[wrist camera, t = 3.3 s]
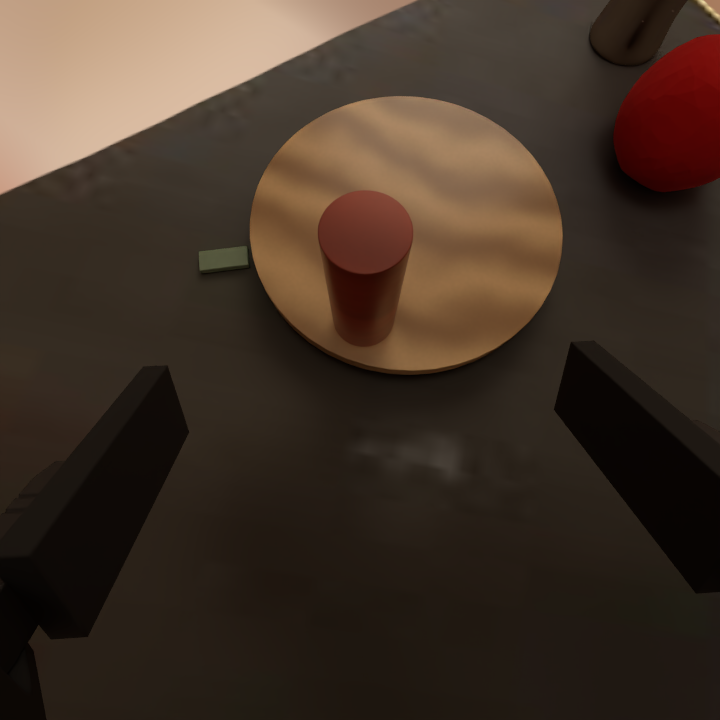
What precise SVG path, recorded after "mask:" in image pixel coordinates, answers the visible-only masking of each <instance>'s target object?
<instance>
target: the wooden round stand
mask: <svg viewBox="0 0 720 720" xmlns="http://www.w3.org/2000/svg"><path fill="white" fill-rule="evenodd" d="M562 238H563V234H562V223H561V216H560V211H559V207H558V203H557V199H556V197H555V194H554V192H553V189H552V187H551V184H550V182H549V180H548V179H547V177H546V175H545V173H544V172H543V170H542V168H541V167H540V165H539V164H538V163H537V161H536V160H535V159H534V157H533V156H532V155H531V153H530V152H529V151H528V150H527V149H526V148H525V147H524V146H523V145H522V144H521V143H520V142H519V141H518V140H517V139H516V138H515V137H513V136H512V135H511V134H510V133H508V132H507V131H506V130H505V129H503V128H502V127H500V126H499V125H497V124H496V123H494V122H493V121H491V120H490V119H488V118H486V117H484V116H482V115H480V114H478V113H476V112H474V111H472V110H469V109H466V108H464V107H461V106H458V105H456V104H452V103H448V102H444V101H440V100H436V99H429V98H422V97H409V96H394V97H380V98H374V99H368V100H363V101H359V102H356V103H352V104H348V105H345V106H343V107H340V108H338V109H335V110H333V111H330V112H328V113H326V114H324V115H323V116H321V117H319V118H317V119H315V120H313V121H312V122H311V123H309V124H308V125H306V126H305V127H303V128H302V129H301V130H299V131H298V132H297V133H296V134H295V135H294V136H292V137H291V138H290V139H289V140H288V141H287V142H286V143H285V144H284V145H283V146H282V148H281V149H280V150H279V151H278V152H277V153H276V155H275V156H274V157H273V159H272V160H271V162H270V164H269V165H268V167H267V168H266V170H265V172H264V174H263V176H262V178H261V180H260V182H259V184H258V187H257V190H256V193H255V197H254V200H253V203H252V210H251V217H250V243H251V249H252V256H253V260H254V263H255V266H256V269H257V273H258V276H259V278H260V280H261V282H262V284H263V286H264V288H265V290H266V292H267V294H268V296H269V298H270V300H271V301H272V303H273V304H274V306H275V307H276V309H277V310H278V311H279V313H280V314H281V316H282V317H283V318H284V319H285V320H286V321H287V322H288V324H289V325H290V326H291V327H292V328H293V329H294V330H295V331H296V332H297V333H298V334H300V335H301V336H302V337H303V338H304V339H306V340H307V341H308V342H309V343H310V344H312V345H314V346H315V347H317V348H318V349H320V350H321V351H323V352H325V353H326V354H328V355H330V356H332V357H334V358H336V359H339V360H341V361H343V362H345V363H347V364H350V365H354V366H357V367H360V368H363V369H366V370H371V371H376V372H382V373H387V374H402V375H416V374H430V373H436V372H441V371H446V370H451V369H455V368H457V367H460V366H463V365H466V364H469V363H472V362H474V361H476V360H478V359H480V358H482V357H484V356H486V355H488V354H490V353H492V352H493V351H495V350H496V349H497V348H499V347H500V346H502V345H503V344H505V343H506V342H508V341H509V340H510V339H511V338H512V337H513V336H515V335H516V334H517V333H518V332H519V331H520V330H521V329H522V328H523V327H524V326H525V325H526V324H527V323H528V322H529V321H530V320H531V319H532V318H533V316H534V315H535V314H536V312H537V311H538V310H539V309H540V307H541V306H542V304H543V303H544V301H545V299H546V297H547V296H548V294H549V292H550V290H551V288H552V285H553V283H554V280H555V278H556V275H557V272H558V268H559V263H560V259H561V254H562Z"/></svg>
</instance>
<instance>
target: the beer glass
mask: <svg viewBox="0 0 720 720" xmlns="http://www.w3.org/2000/svg"><path fill="white" fill-rule="evenodd" d="M687 1H688V0H610V1H609V2H608V4H607V5H606V6H605V8H604V9H603V11H602V12H601V13H600V15H599V16H598V17H597V19H596V20H595V22H594V24H593V25H592V28H591V31H590V41H591V44H592V46H593V48H594V49H595V51H596V52H597V53H598V54H599V55H600V56H602V57H603V58H604V59H606V60H608V61H610V62H612V63H615V64H619V65H626V66H632V65H639V64H642V63H645V62H647V61H648V60H650V59H651V58H652V57H653V56H654V55H655V54H656V53H657V51H658V50H659V48H660V46H661V44H662V42H663V40H664V38H665V36H666V34H667V32H668V30H669V28H670V27H671V25H672V23H673V21H674V19H675V18H676V16H677V15H678V13H679V12H680V10H681V9H682V7H683V6H684V5H685V3H686V2H687Z"/></svg>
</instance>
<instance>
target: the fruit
mask: <svg viewBox="0 0 720 720" xmlns="http://www.w3.org/2000/svg"><path fill="white" fill-rule="evenodd" d="M613 141H614V147H615V151H616V156H617V160H618V163H619V165H620V168H621V169H622V170H623V171H624V172H625V173H626V174H627V175H628V176H629V177H631V178H632V179H634V180H635V181H637V182H638V183H640V184H641V185H643V186H645V187H647V188H649V189H652V190H654V191H659V192H670V191H678V190H684V189H689V188H694V187H698V186H701V185H704V184H706V183H709V182H712V181H714V180H716V179H718V178H720V34H718V35H706V36H701V37H697V38H695V39H693V40H691V41H689V42H687V43H685V44H683V45H681V46H678V47H676V48H675V49H673V50H672V51H670V52H669V53H667V54H666V55H665V56H663V57H662V58H661V59H660V60H658V61H657V62H656V63H655V64H654V65H652V66H651V67H650V68H649V69H648V70H647V71H646V72H645V73H644V74H643V75H642V76H641V77H640V78H639V80H638V81H637V82H636V83H635V85H634V86H633V87H632V89H631V90H630V92H629V93H628V95H627V96H626V98H625V99H624V101H623V103H622V105H621V107H620V110H619V112H618V115H617V118H616V122H615V128H614V134H613Z"/></svg>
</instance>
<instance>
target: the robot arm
mask: <svg viewBox="0 0 720 720" xmlns="http://www.w3.org/2000/svg"><path fill="white" fill-rule="evenodd" d="M554 410H555V412H556V413H557V414H558V416H559V417H560V418H561V419H562V421H563V422H564V423H565V425H566V426H567V427H568V428H569V430H570V431H571V432H572V434H573V435H574V436H575V438H576V439H577V440H578V441H579V443H580V444H581V445H582V447H583V448H584V449H585V450H586V452H587V453H588V454H589V456H590V457H591V458H592V460H593V461H594V462H595V463H596V465H597V466H598V467H599V469H600V470H601V471H602V472H603V474H604V475H605V476H606V478H607V479H608V480H609V482H610V483H611V484H612V485H613V487H614V488H615V489H616V491H617V492H618V493H619V494H620V496H621V497H622V498H623V500H624V501H625V502H626V504H627V505H628V506H629V507H630V509H631V510H632V511H633V513H634V514H635V515H636V516H637V518H638V519H639V520H640V522H641V523H642V524H643V525H644V527H645V528H646V529H647V531H648V532H649V533H650V535H651V536H652V537H653V538H654V540H655V541H656V542H657V544H658V545H659V546H660V547H661V549H662V550H663V551H664V553H665V554H666V555H667V557H668V558H669V559H670V560H671V562H672V563H673V564H674V566H675V567H676V568H677V569H678V571H679V572H680V573H681V575H682V576H683V577H684V579H685V580H686V581H687V582H688V584H689V585H690V586H691V588H692V589H693V590H694V591H695V593H708V592H720V432H719V431H717V430H715V429H713V428H711V427H710V426H708V425H706V424H704V423H702V422H700V421H698V420H693V421H691V420H690V419H689V418H687V417H686V416H685V415H684V414H683V413H681V412H680V411H679V410H678V409H676V408H675V407H674V406H673V405H672V404H670V403H669V402H668V401H667V400H666V399H664V398H663V397H662V396H661V395H659V394H658V393H657V392H656V391H655V390H653V389H652V388H651V387H650V386H648V385H647V384H646V383H645V382H644V381H642V380H641V379H640V378H639V377H638V376H636V375H635V374H634V373H633V372H631V371H630V370H629V369H628V368H627V367H625V366H624V365H623V364H622V363H620V362H619V361H618V360H617V359H616V358H614V357H613V356H612V355H611V354H610V353H608V352H607V351H606V350H605V349H603V348H602V347H601V346H600V345H599V344H597V343H596V342H595V341H581V342H571V344H570V348H569V352H568V356H567V360H566V364H565V368H564V372H563V376H562V380H561V384H560V388H559V392H558V396H557V400H556V404H555V408H554ZM188 433H189V430H188V427H187V424H186V421H185V418H184V415H183V412H182V409H181V406H180V403H179V399H178V396H177V393H176V390H175V387H174V384H173V381H172V378H171V375H170V372H169V369H168V366H167V365H166V366H149V367H143V368H142V369H141V370H140V371H139V373H138V374H137V375H136V376H135V377H134V379H133V380H132V381H131V382H130V384H129V385H128V386H127V387H126V388H125V390H124V391H123V392H122V393H121V394H120V396H119V397H118V398H117V399H116V400H115V402H114V403H113V404H112V405H111V406H110V408H109V409H108V410H107V411H106V413H105V414H104V415H103V416H102V417H101V419H100V420H99V421H98V422H97V423H96V425H95V426H94V427H93V428H92V429H91V431H90V432H89V433H88V434H87V435H86V437H85V438H84V439H83V440H82V442H81V443H80V444H79V445H78V446H77V448H76V449H75V450H74V451H73V452H72V454H71V455H70V456H69V457H68V458H67V460H66V461H55V462H54V463H53V464H51V465H50V466H49V467H47V468H46V469H44V470H43V471H42V472H40V473H39V474H38V475H36V476H35V477H34V478H33V479H32V480H31V481H30V482H29V483H28V485H27V486H26V487H25V488H24V489H23V490H22V491H21V493H20V494H19V497H18V498H15V499H14V500H13V502H12V503H11V504H10V505H9V506H8V507H7V508H6V512H5V513H2V514H1V515H0V720H46V715H45V710H44V704H43V699H42V693H41V688H40V683H39V677H38V672H37V667H36V661H35V656H34V651H33V650H32V648H31V646H30V645H29V644H28V641H29V640H30V638H31V636H32V635H33V633H34V631H35V630H36V628H37V626H38V625H39V626H40V627H41V628H42V629H43V630H44V632H45V633H46V634H47V635H48V637H49V638H50V639H64V638H78V637H88V635H89V633H90V631H91V629H92V627H93V625H94V623H95V621H96V619H97V617H98V615H99V613H100V611H101V609H102V607H103V605H104V603H105V601H106V599H107V597H108V595H109V593H110V591H111V589H112V587H113V585H114V583H115V581H116V579H117V576H118V574H119V572H120V570H121V568H122V566H123V564H124V562H125V560H126V558H127V556H128V554H129V552H130V550H131V548H132V546H133V544H134V542H135V540H136V538H137V536H138V534H139V532H140V530H141V528H142V526H143V524H144V522H145V520H146V518H147V516H148V514H149V512H150V510H151V508H152V506H153V504H154V502H155V500H156V498H157V496H158V494H159V492H160V490H161V488H162V486H163V484H164V482H165V480H166V478H167V476H168V474H169V472H170V470H171V468H172V466H173V464H174V462H175V460H176V458H177V456H178V453H179V451H180V449H181V447H182V445H183V443H184V441H185V439H186V437H187V435H188Z"/></svg>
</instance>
